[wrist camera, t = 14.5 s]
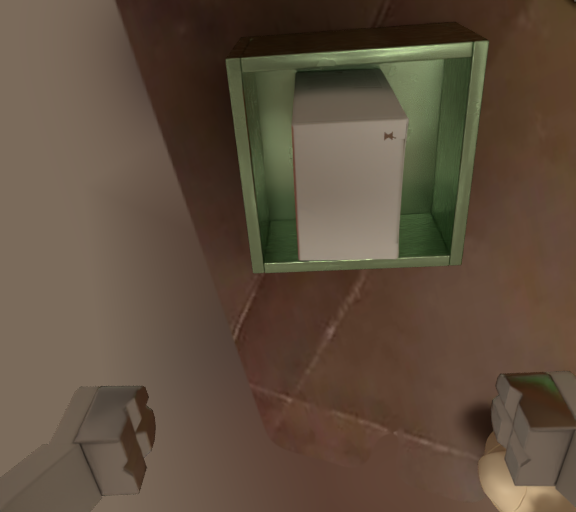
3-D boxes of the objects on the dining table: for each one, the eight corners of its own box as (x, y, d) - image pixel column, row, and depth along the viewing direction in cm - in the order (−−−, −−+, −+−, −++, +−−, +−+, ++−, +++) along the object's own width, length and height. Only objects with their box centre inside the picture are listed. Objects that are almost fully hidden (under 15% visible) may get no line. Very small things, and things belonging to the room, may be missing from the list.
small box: (295, 70, 33) (289, 119, 24) (383, 66, 32) (410, 114, 24) (299, 185, 37) (296, 264, 28) (377, 183, 37) (399, 262, 28)
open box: (261, 224, 40) (252, 273, 34) (240, 37, 33) (224, 58, 27) (438, 215, 39) (461, 265, 33) (456, 21, 32) (489, 40, 26)
